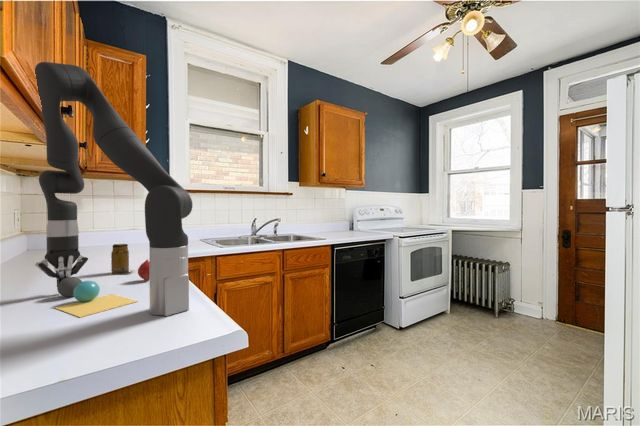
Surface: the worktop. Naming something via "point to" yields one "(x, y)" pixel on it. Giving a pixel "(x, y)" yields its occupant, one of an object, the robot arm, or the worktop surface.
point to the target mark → (95, 305)
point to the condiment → (120, 260)
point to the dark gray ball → (68, 286)
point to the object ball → (86, 291)
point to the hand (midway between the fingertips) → (63, 289)
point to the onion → (144, 270)
